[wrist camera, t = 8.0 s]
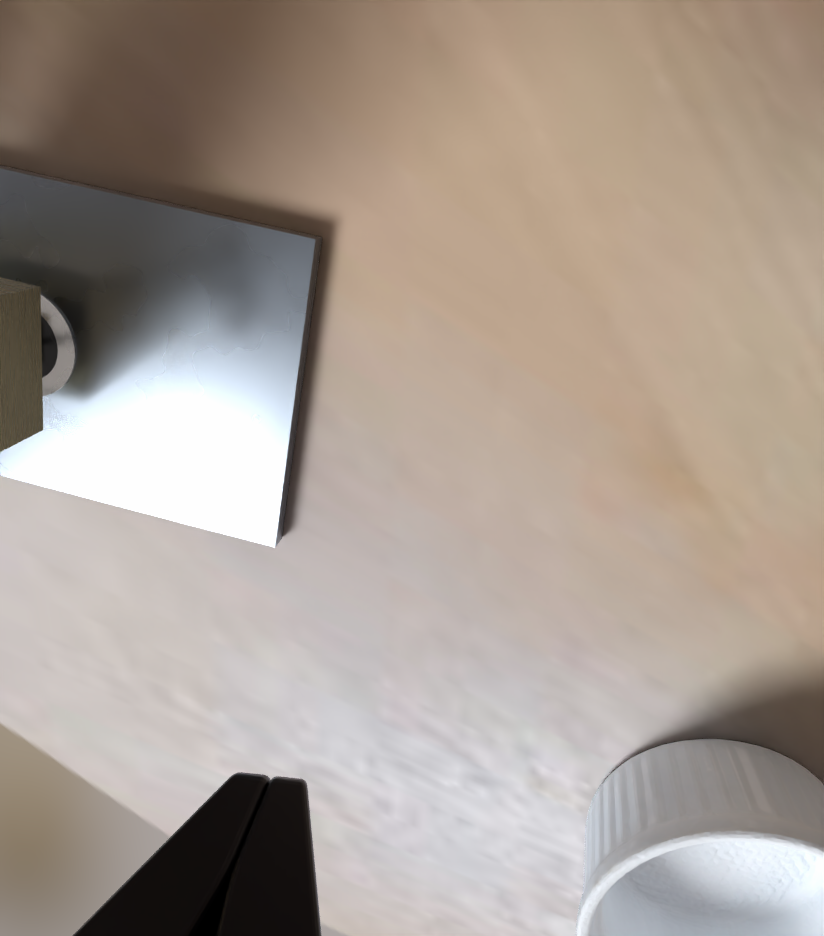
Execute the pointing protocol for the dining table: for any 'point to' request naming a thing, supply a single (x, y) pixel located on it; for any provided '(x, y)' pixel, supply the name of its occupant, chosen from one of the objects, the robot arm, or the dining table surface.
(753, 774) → the ramekin
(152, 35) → the dining table surface
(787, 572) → the dining table surface
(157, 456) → the bolt plate
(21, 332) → the sliding leg
